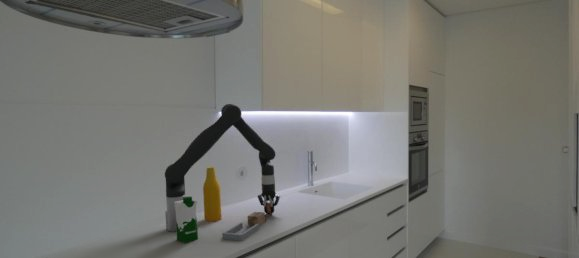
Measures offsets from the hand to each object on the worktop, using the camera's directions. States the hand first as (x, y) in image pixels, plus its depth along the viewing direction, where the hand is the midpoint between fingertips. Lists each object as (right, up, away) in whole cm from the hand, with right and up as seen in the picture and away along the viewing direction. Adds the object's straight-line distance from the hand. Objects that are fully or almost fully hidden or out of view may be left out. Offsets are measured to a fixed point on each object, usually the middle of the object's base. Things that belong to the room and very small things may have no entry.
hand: (269, 212), depth 202 cm
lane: (-12, -3, -30) cm, 33 cm away
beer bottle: (-31, -3, -5) cm, 31 cm away
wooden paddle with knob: (-3, -2, -9) cm, 10 cm away
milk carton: (-36, -4, -36) cm, 51 cm away
